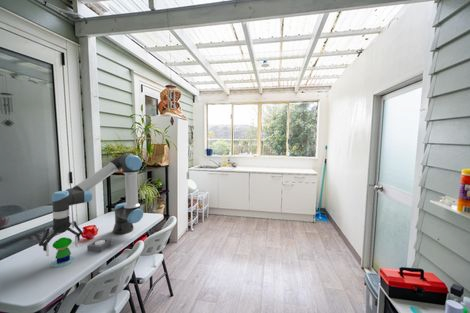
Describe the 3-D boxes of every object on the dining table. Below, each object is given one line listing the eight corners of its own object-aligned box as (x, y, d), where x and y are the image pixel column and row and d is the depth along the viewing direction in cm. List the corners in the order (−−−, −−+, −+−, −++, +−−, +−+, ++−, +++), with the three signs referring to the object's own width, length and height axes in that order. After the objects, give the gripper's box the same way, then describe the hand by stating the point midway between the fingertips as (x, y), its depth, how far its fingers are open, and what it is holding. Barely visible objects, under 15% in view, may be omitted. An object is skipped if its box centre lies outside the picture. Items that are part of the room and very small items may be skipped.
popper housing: (99, 243, 142) (99, 238, 142) (111, 244, 141) (111, 239, 140) (87, 251, 132) (87, 245, 132) (100, 252, 131) (100, 246, 130)
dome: (99, 243, 139) (99, 239, 139) (107, 244, 139) (107, 240, 139) (92, 248, 134) (92, 244, 133) (100, 248, 133) (100, 244, 133)
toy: (71, 255, 126) (71, 233, 125) (73, 261, 120) (72, 238, 119) (53, 261, 120) (52, 237, 119) (53, 267, 114) (52, 243, 112)
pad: (72, 254, 127) (72, 254, 127) (76, 261, 121) (76, 260, 121) (49, 262, 119) (49, 262, 119) (52, 270, 112) (52, 269, 112)
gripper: (84, 210, 130) (85, 241, 131) (30, 221, 111) (32, 257, 112) (88, 212, 125) (89, 244, 127) (32, 224, 106) (34, 262, 107)
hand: (62, 250), depth 119 cm, fingers open, 13 cm apart
